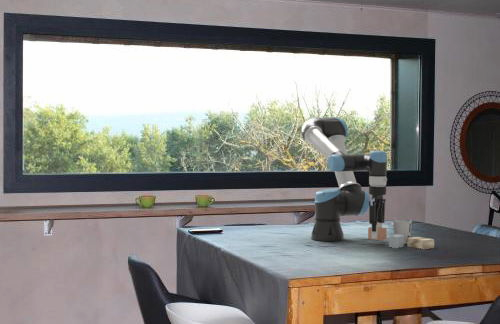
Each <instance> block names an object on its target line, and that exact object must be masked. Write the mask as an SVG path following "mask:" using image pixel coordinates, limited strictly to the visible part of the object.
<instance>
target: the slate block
mask: <svg viewBox="0 0 500 324" xmlns="http://www.w3.org/2000/svg"><path fill="white" fill-rule="evenodd" d="M389 247H392V248H391V249H400V248H403V247H405V244H404V235H396V234H395V235H394V234H392V235H389V236H388V248H389ZM399 247H400V248H399Z"/></svg>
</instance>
